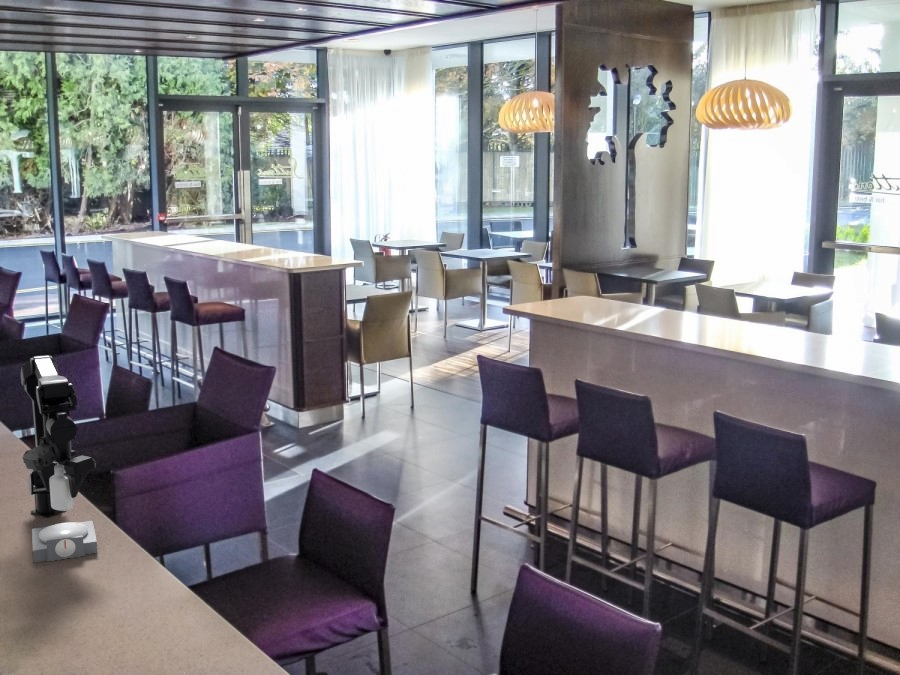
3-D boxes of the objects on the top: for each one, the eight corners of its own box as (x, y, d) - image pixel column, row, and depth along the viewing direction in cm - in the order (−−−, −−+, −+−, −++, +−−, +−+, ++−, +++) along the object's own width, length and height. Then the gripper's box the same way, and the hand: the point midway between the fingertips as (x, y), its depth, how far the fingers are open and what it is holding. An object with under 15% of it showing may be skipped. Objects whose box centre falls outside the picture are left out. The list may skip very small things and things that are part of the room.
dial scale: (32, 540, 230) (31, 521, 229) (93, 531, 236) (92, 513, 235) (33, 564, 217) (32, 544, 216) (97, 554, 222) (96, 535, 221)
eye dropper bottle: (68, 502, 229) (65, 455, 227) (74, 509, 224) (71, 462, 222) (50, 506, 226) (46, 459, 224) (55, 513, 222) (52, 465, 220)
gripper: (1, 434, 219) (6, 497, 222) (55, 446, 210) (59, 512, 213) (41, 423, 229) (46, 484, 232) (95, 434, 220) (98, 497, 223)
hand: (61, 494), depth 225 cm, fingers closed on eye dropper bottle, 8 cm apart
